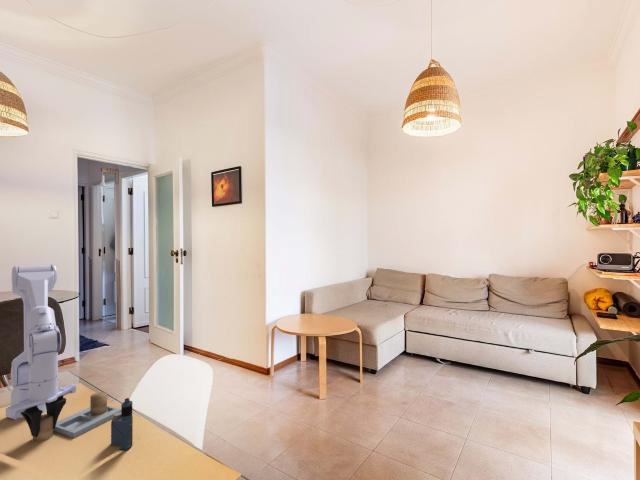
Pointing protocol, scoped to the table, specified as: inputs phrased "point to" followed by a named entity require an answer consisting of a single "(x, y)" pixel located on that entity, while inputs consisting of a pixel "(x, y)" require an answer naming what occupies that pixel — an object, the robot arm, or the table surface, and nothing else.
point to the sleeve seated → (98, 404)
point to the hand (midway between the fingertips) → (43, 431)
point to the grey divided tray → (83, 422)
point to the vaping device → (122, 426)
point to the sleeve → (44, 429)
